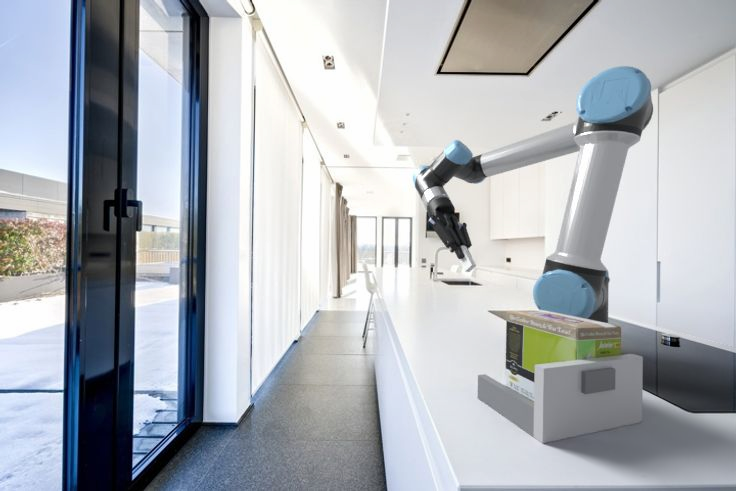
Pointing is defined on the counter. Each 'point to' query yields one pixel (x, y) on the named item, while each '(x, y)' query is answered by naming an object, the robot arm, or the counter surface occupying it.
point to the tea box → (552, 343)
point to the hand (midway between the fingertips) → (470, 268)
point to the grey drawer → (572, 397)
